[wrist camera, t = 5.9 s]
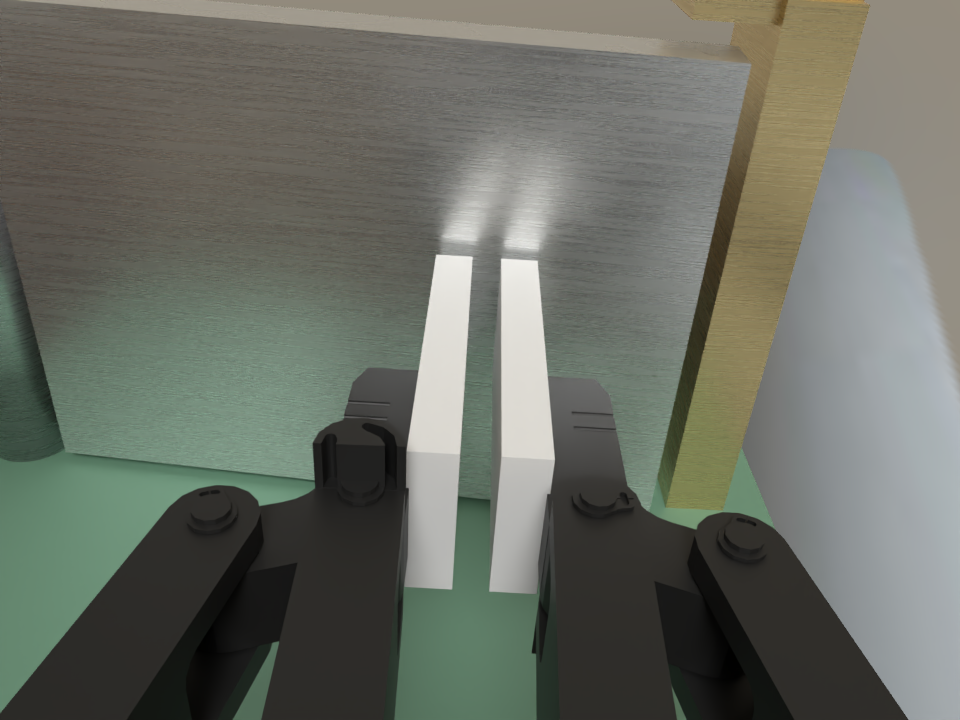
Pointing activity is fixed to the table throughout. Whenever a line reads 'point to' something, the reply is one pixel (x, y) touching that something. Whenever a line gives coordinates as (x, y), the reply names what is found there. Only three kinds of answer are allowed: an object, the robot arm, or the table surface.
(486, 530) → the motherboard
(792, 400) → the table surface
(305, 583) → the robot arm
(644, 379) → the grey flat slab
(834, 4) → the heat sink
